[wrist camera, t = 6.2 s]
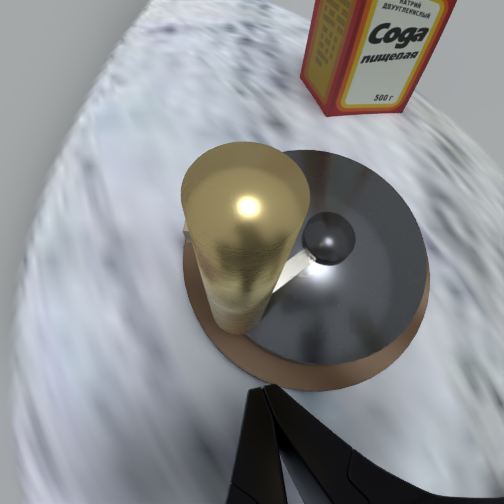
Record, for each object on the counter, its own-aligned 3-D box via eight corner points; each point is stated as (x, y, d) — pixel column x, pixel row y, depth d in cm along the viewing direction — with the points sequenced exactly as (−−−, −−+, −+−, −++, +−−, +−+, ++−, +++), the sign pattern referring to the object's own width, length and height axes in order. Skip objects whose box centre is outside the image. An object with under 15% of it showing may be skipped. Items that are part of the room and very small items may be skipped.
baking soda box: (326, 116, 27) (372, -39, 12) (299, 77, 29) (327, -59, 14) (402, 112, 28) (460, -9, 14) (372, 76, 31) (413, -37, 16)
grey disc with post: (320, 138, 23) (364, -2, 12) (446, 270, 20) (569, 175, 8) (153, 238, 19) (81, 74, 8) (296, 424, 15) (418, 493, 4)
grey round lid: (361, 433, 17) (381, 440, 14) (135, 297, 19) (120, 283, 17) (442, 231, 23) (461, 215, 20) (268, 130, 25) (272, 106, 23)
